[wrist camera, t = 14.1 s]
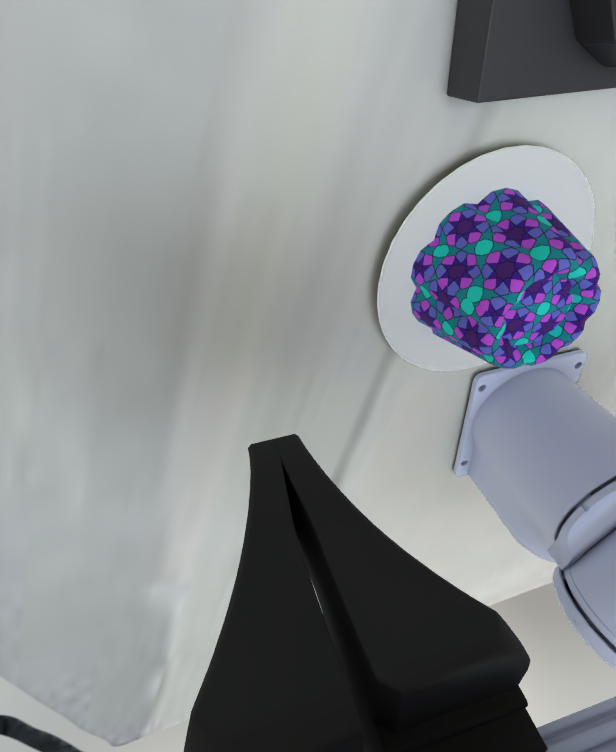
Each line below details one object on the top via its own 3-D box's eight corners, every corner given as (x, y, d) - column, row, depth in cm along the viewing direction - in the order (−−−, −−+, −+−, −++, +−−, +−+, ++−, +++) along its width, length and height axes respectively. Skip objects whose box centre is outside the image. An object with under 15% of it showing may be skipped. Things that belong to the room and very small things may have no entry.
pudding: (419, 116, 19) (494, 142, 15) (628, 165, 23) (732, 196, 19) (344, 362, 25) (382, 426, 21) (517, 366, 29) (576, 420, 25)
